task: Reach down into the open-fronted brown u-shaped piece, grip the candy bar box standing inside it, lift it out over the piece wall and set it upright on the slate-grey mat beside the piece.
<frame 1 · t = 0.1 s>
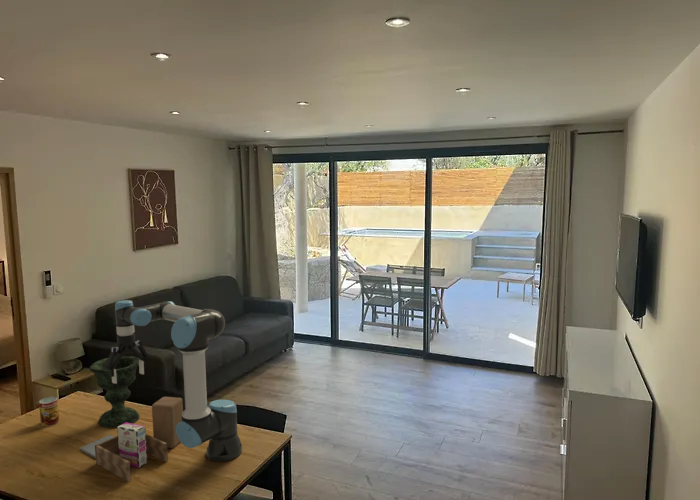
hand: (128, 378, 227), 28 cm above the table, tool pointing down, fingers open, 13 cm apart
wooden block: (169, 443, 222), on the table
canned food: (50, 423, 243), on the table
brown u-shaped piece: (133, 462, 206), on the table
candy bar box: (133, 463, 206), resting in brown u-shaped piece
goblet: (119, 420, 245), on the table
slate mat: (104, 447, 218), on the table
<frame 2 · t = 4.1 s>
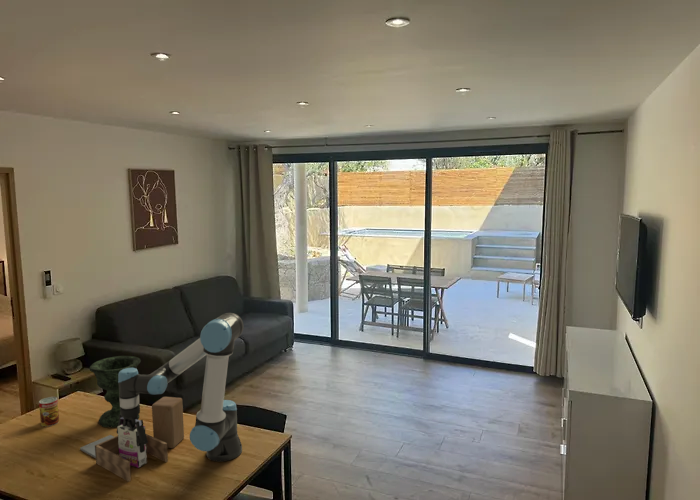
hand: (132, 454, 205), 4 cm above the table, tool pointing down, fingers closed on candy bar box, 12 cm apart
candy bar box: (133, 463, 206), resting in brown u-shaped piece, touching gripper
everything else where it was.
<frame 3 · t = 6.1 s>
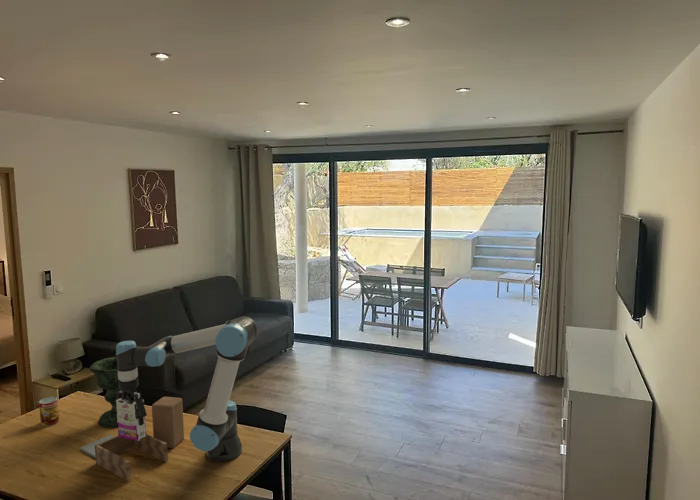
hand: (132, 428, 204), 15 cm above the table, tool pointing down, fingers closed on candy bar box, 12 cm apart
candy bar box: (132, 437, 204), point 11 cm above the table, touching gripper
everything else where it was.
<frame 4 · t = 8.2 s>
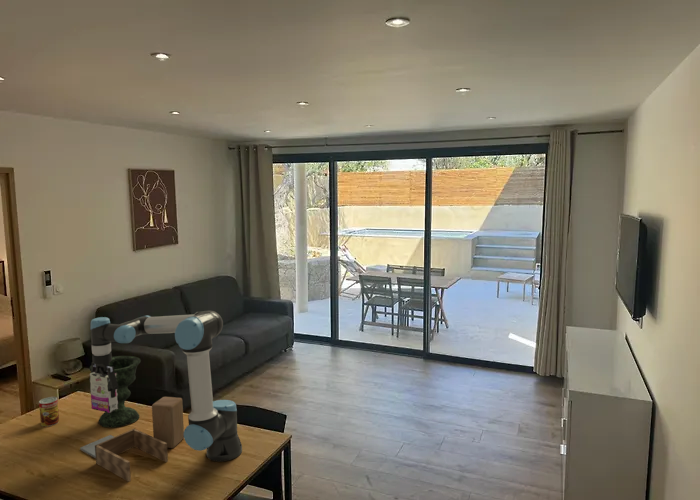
hand: (104, 400, 214), 23 cm above the table, tool pointing down, fingers closed on candy bar box, 12 cm apart
candy bar box: (105, 409, 214), point 19 cm above the table, touching gripper
everything else where it was.
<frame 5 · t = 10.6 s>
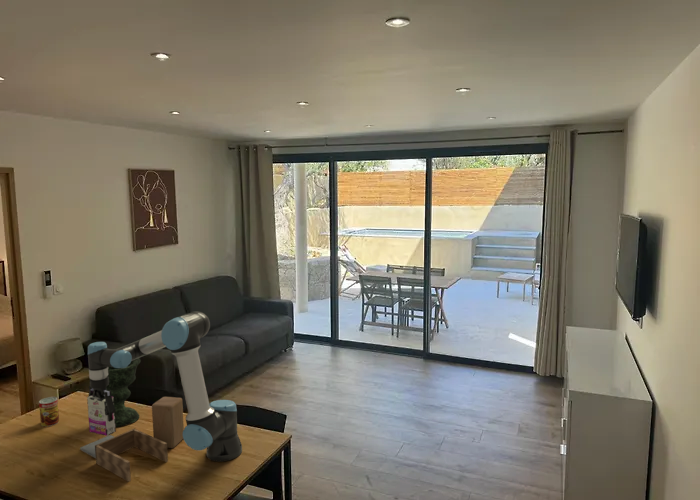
hand: (102, 423, 217), 11 cm above the table, tool pointing down, fingers closed on candy bar box, 12 cm apart
candy bar box: (102, 432, 218), point 7 cm above the table, touching gripper
everything else where it was.
when the fingers open (6 cm above the table, at t = 12.7 s): candy bar box drops 1 cm, resting on slate mat.
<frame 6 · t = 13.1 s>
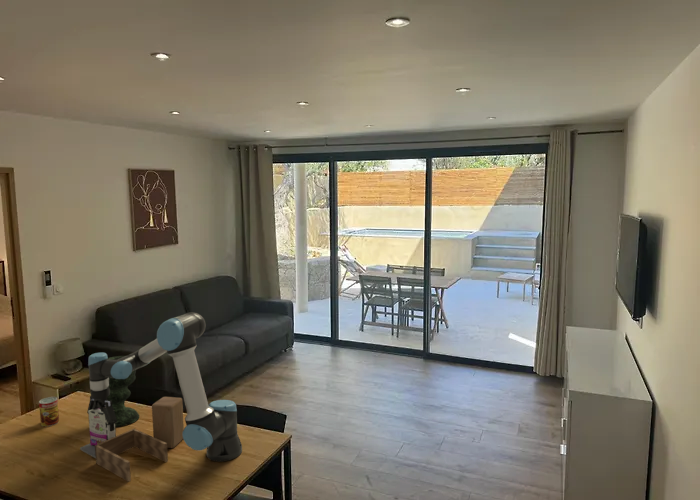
hand: (103, 433, 218), 7 cm above the table, tool pointing down, fingers open, 13 cm apart
candy bar box: (103, 445, 219), point 1 cm above the table, touching slate mat
everything else where it was.
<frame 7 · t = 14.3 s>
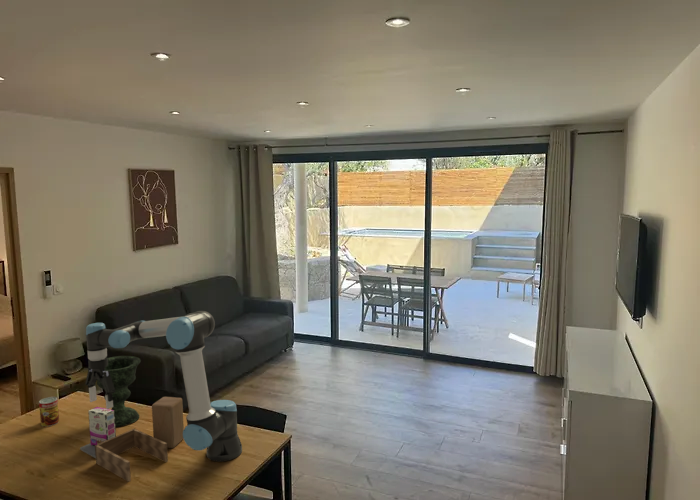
hand: (101, 404, 216), 20 cm above the table, tool pointing down, fingers open, 13 cm apart
nothing on the table moved.
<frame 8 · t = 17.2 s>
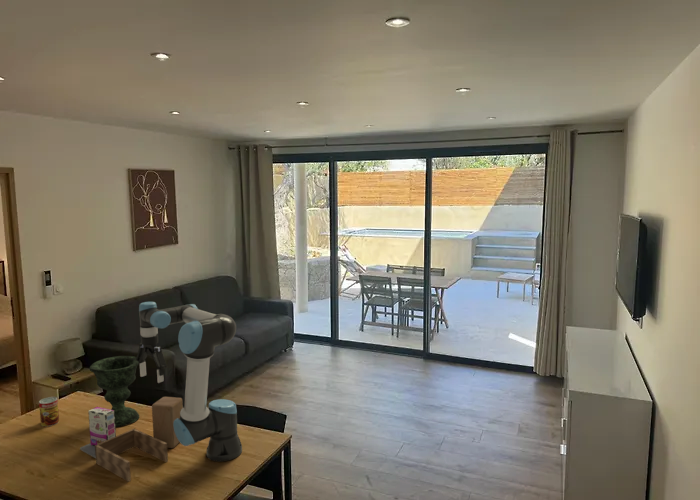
hand: (151, 378, 229), 27 cm above the table, tool pointing down, fingers open, 13 cm apart
nothing on the table moved.
at the end: candy bar box inside the target area on the slate mat (0.4 cm from its centre), point 0.8 cm above the slate mat's base; candy bar box tilted 0°; the gripper is holding nothing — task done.
